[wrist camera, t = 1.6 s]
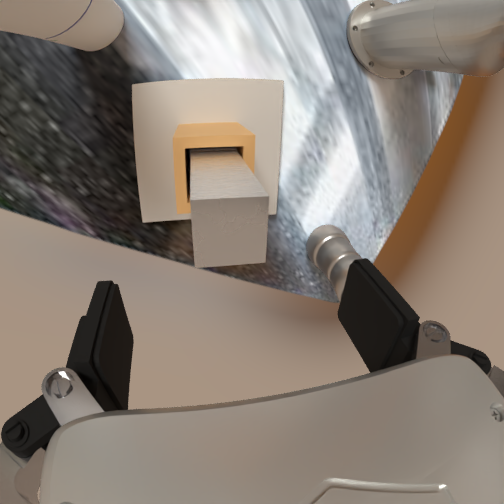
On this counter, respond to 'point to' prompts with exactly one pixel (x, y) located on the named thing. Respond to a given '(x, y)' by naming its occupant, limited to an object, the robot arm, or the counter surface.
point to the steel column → (226, 209)
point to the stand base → (202, 136)
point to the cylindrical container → (64, 21)
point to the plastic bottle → (332, 254)
